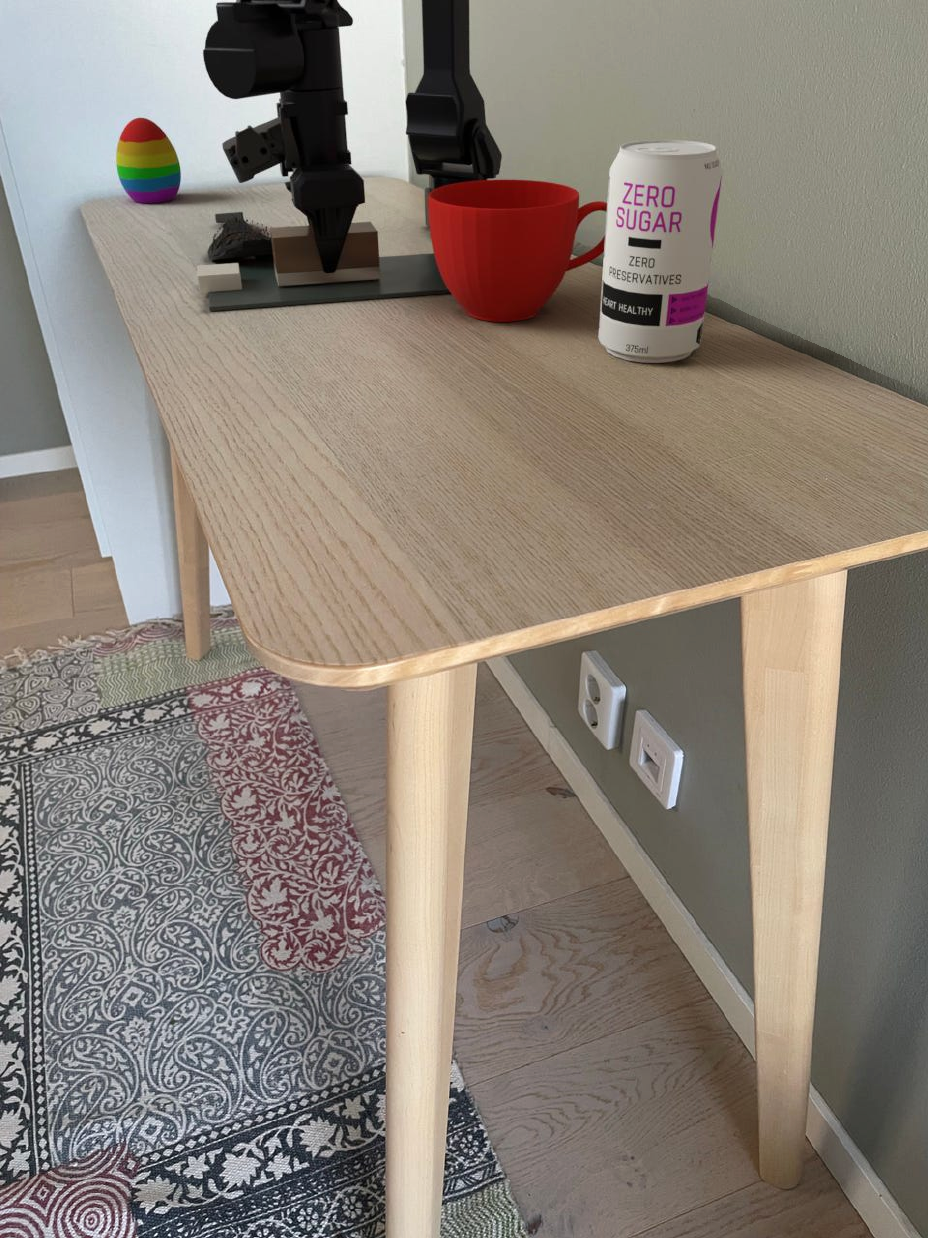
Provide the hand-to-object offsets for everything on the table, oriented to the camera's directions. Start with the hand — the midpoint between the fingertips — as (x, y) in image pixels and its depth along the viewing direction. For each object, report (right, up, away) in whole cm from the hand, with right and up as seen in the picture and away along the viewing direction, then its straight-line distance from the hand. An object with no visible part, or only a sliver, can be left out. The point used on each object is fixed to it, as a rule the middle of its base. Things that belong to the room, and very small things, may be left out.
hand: (326, 266), depth 96 cm
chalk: (-10, -2, -1) cm, 11 cm away
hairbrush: (-12, +7, +14) cm, 20 cm away
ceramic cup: (+19, -7, -7) cm, 22 cm away
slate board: (0, -1, +1) cm, 2 cm away
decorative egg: (-29, +22, +37) cm, 52 cm away
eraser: (0, -1, +1) cm, 1 cm away
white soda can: (+29, -13, -17) cm, 36 cm away
